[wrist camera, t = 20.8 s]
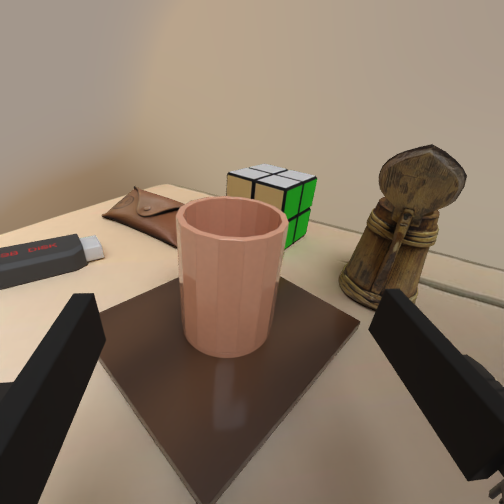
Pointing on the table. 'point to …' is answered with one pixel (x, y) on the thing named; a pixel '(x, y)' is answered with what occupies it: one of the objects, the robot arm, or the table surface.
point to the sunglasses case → (148, 214)
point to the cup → (229, 272)
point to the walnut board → (216, 379)
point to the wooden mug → (402, 224)
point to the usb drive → (46, 258)
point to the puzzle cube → (277, 193)
